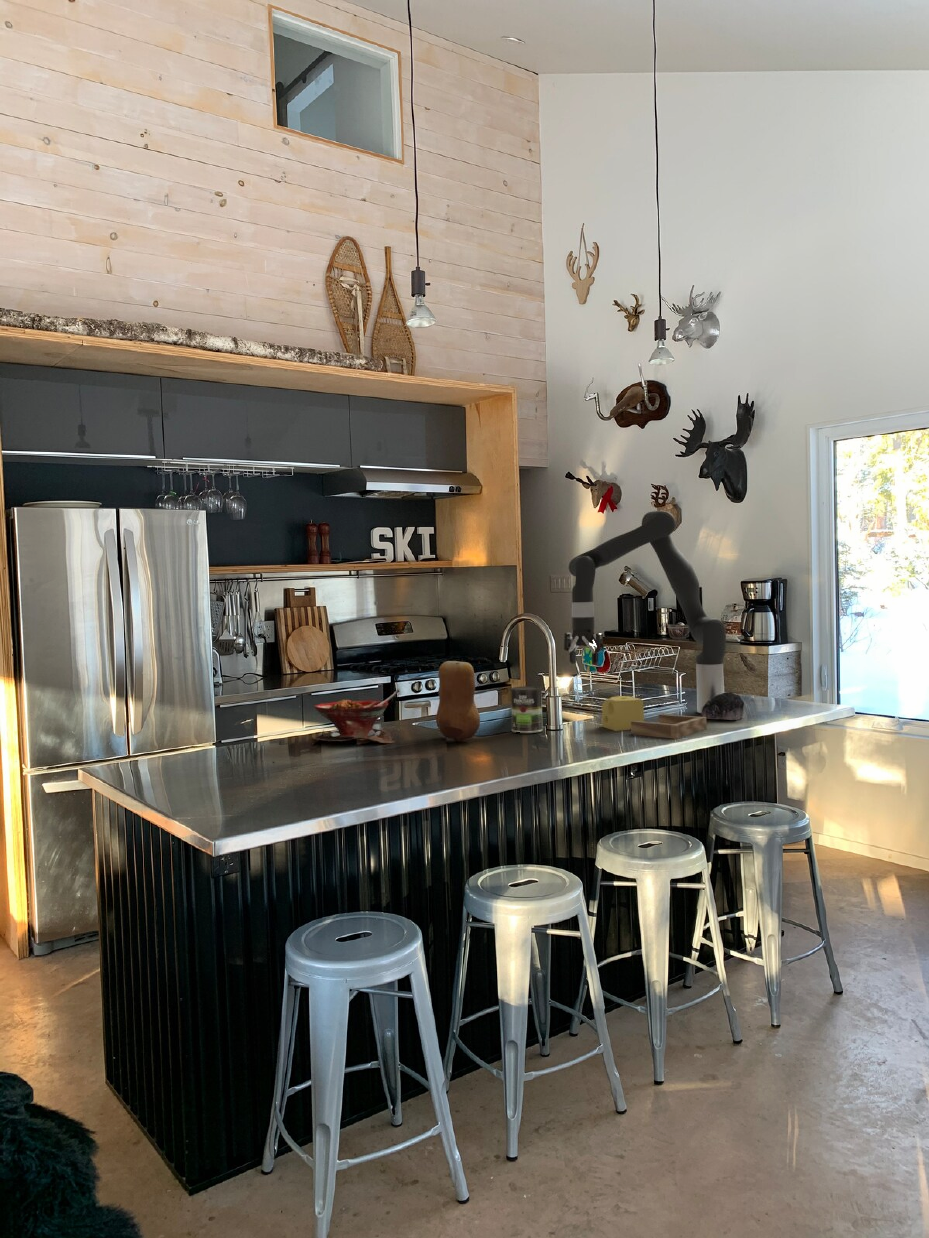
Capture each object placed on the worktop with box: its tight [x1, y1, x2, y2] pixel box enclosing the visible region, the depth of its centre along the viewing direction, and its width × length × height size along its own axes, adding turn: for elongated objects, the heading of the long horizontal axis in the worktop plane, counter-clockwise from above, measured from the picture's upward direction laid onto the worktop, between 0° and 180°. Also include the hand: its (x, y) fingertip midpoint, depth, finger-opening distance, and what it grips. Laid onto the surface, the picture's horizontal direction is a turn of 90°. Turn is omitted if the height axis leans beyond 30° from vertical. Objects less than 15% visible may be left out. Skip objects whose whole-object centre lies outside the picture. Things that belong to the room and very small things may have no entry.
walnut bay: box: [630, 713, 707, 740], centre depth 301 cm, size 19×16×4 cm
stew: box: [311, 688, 400, 746], centre depth 304 cm, size 28×24×16 cm
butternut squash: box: [435, 660, 481, 742], centre depth 300 cm, size 14×13×25 cm
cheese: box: [600, 695, 645, 732], centre depth 313 cm, size 10×11×10 cm
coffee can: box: [509, 685, 544, 734], centre depth 313 cm, size 10×10×14 cm
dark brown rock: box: [701, 691, 745, 721], centre depth 320 cm, size 13×14×10 cm
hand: (584, 663), depth 321 cm, fingers open, 8 cm apart
